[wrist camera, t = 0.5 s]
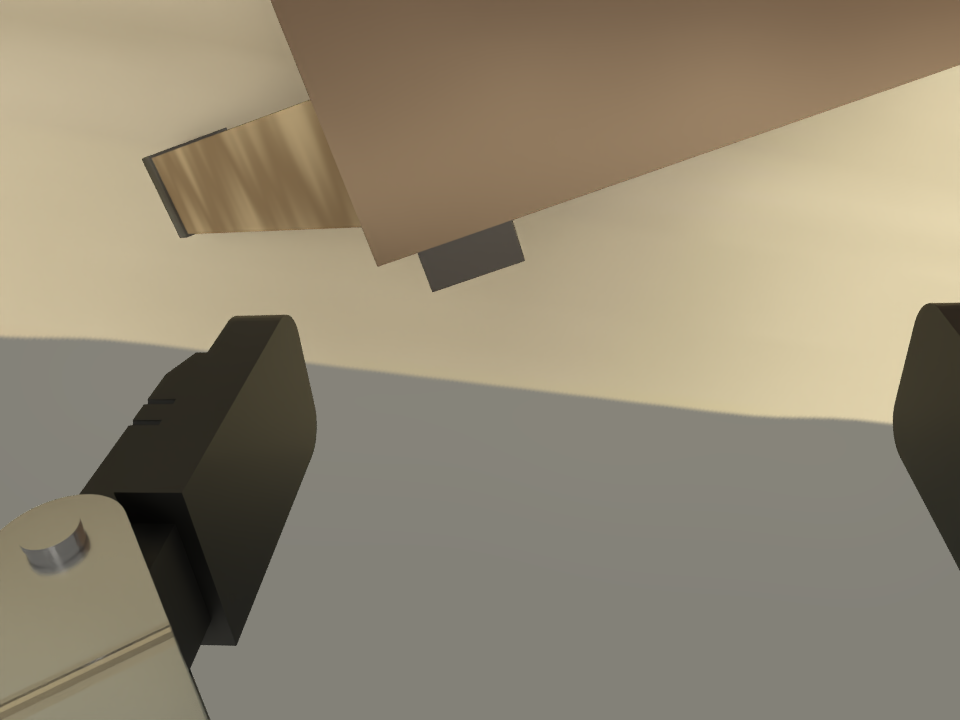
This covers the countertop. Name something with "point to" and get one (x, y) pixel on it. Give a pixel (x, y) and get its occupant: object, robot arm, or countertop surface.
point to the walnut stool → (571, 98)
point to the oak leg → (254, 178)
